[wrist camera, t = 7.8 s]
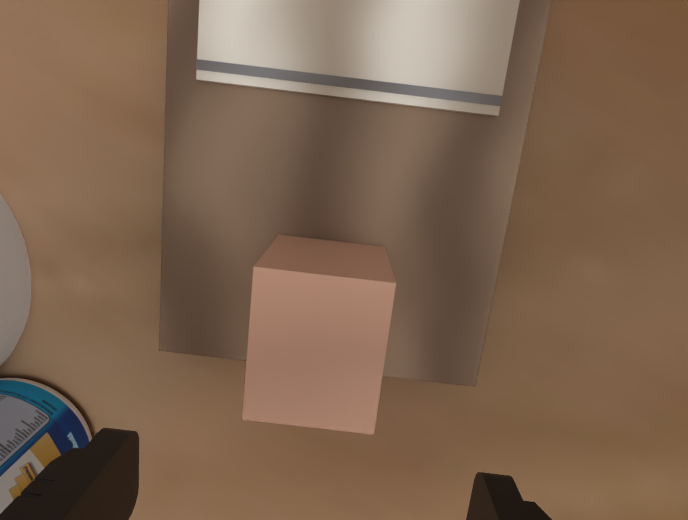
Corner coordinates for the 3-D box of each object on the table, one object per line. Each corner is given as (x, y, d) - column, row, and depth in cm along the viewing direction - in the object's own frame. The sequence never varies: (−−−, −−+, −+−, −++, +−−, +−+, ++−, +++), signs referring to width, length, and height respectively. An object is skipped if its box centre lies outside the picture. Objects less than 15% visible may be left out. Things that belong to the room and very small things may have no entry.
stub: (385, 246, 23) (396, 283, 17) (368, 363, 24) (373, 434, 18) (278, 234, 23) (253, 266, 17) (268, 352, 24) (242, 419, 18)
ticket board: (569, -151, 20) (595, -185, 18) (468, 372, 26) (478, 393, 24) (187, -199, 20) (167, -240, 18) (169, 338, 26) (153, 356, 24)
